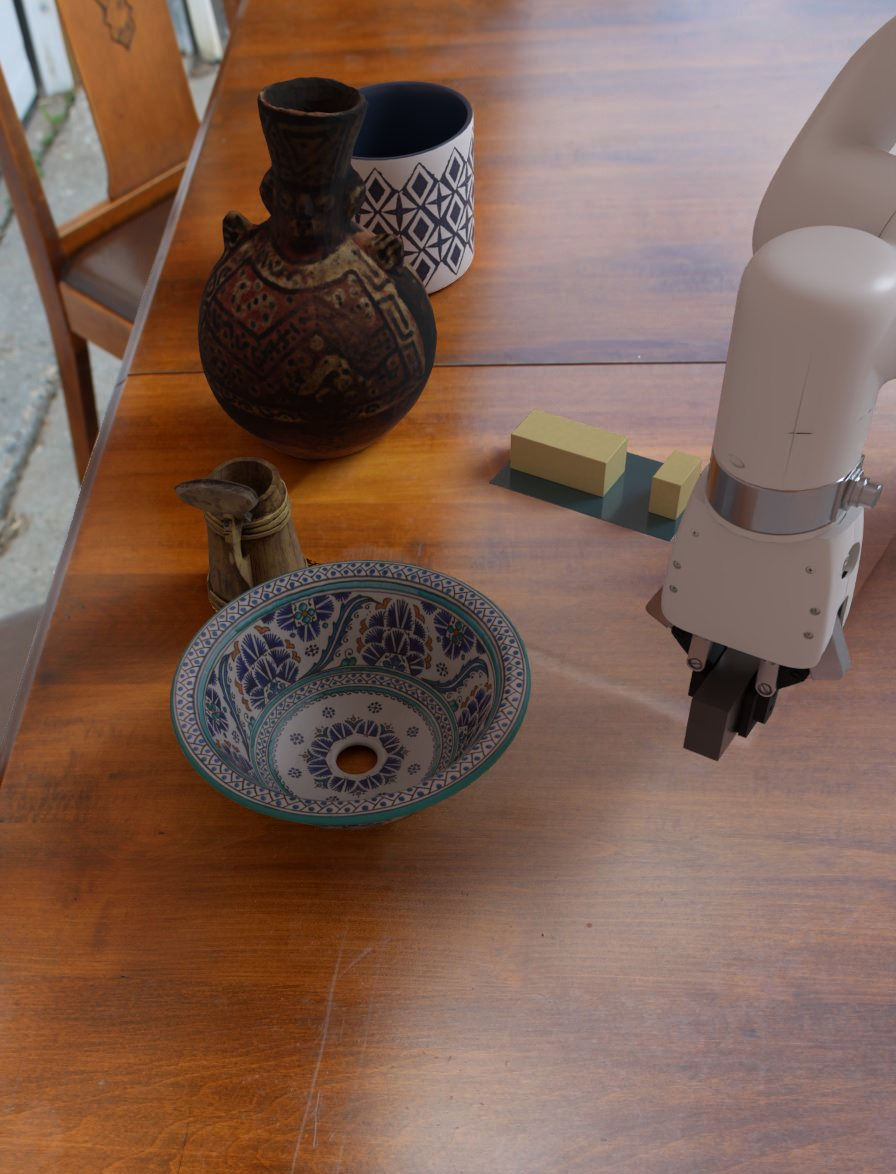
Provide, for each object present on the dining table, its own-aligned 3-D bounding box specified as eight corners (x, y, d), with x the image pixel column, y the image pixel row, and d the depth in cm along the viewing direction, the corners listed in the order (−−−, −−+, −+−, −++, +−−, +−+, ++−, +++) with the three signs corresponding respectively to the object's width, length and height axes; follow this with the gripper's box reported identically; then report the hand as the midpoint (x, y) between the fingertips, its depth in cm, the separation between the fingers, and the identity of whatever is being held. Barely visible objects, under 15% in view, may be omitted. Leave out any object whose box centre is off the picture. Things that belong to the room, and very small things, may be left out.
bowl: (189, 674, 107) (166, 583, 100) (498, 633, 106) (499, 537, 98) (197, 927, 92) (171, 843, 85) (556, 882, 91) (562, 792, 84)
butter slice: (647, 511, 111) (652, 476, 108) (669, 484, 112) (674, 449, 110) (675, 520, 110) (680, 485, 107) (697, 493, 111) (702, 457, 109)
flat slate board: (489, 492, 116) (489, 482, 115) (540, 435, 120) (540, 425, 119) (669, 551, 109) (670, 541, 108) (716, 488, 113) (718, 479, 112)
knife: (717, 762, 84) (728, 712, 80) (682, 748, 85) (691, 698, 81) (832, 590, 92) (846, 538, 88) (798, 579, 93) (811, 527, 89)
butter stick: (509, 468, 116) (510, 433, 113) (532, 442, 118) (533, 408, 115) (603, 497, 112) (605, 463, 110) (625, 471, 114) (628, 436, 111)
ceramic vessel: (188, 483, 122) (115, 144, 98) (251, 372, 131) (198, 37, 107) (409, 509, 116) (390, 156, 92) (459, 391, 125) (453, 41, 101)
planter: (386, 323, 133) (377, 177, 122) (293, 266, 141) (276, 124, 130) (506, 259, 137) (508, 113, 126) (409, 207, 146) (402, 65, 134)
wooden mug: (185, 663, 108) (138, 479, 93) (221, 553, 116) (183, 366, 101) (292, 669, 106) (261, 482, 92) (321, 556, 114) (297, 367, 99)
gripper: (957, 480, 70) (872, 721, 84) (672, 400, 76) (640, 637, 91) (902, 564, 66) (825, 800, 81) (610, 473, 73) (588, 706, 88)
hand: (728, 712), depth 86 cm, fingers closed on knife, 2 cm apart
